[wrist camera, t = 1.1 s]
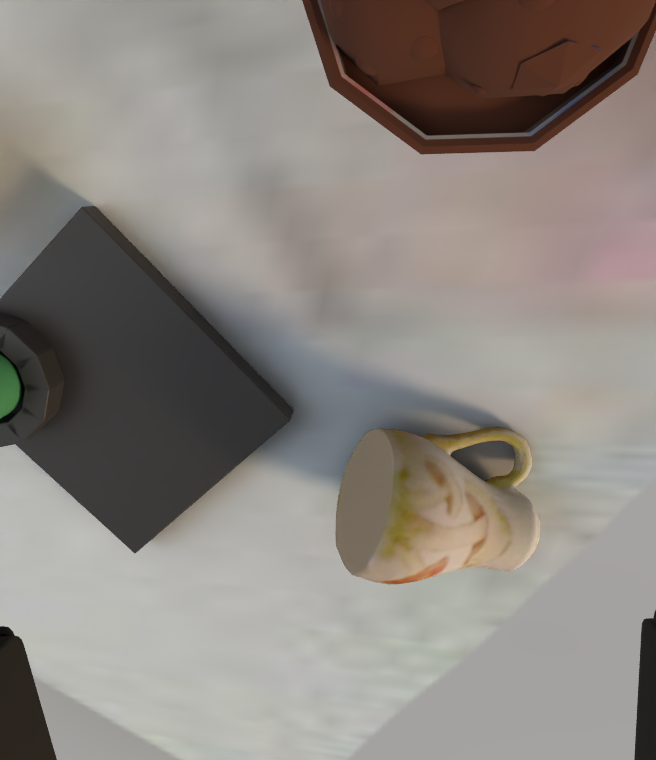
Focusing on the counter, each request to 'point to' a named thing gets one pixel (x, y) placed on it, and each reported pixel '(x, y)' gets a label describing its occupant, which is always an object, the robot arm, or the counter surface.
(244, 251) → the counter surface
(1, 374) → the button
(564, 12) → the ice cream bowl
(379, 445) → the mug
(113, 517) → the scale
